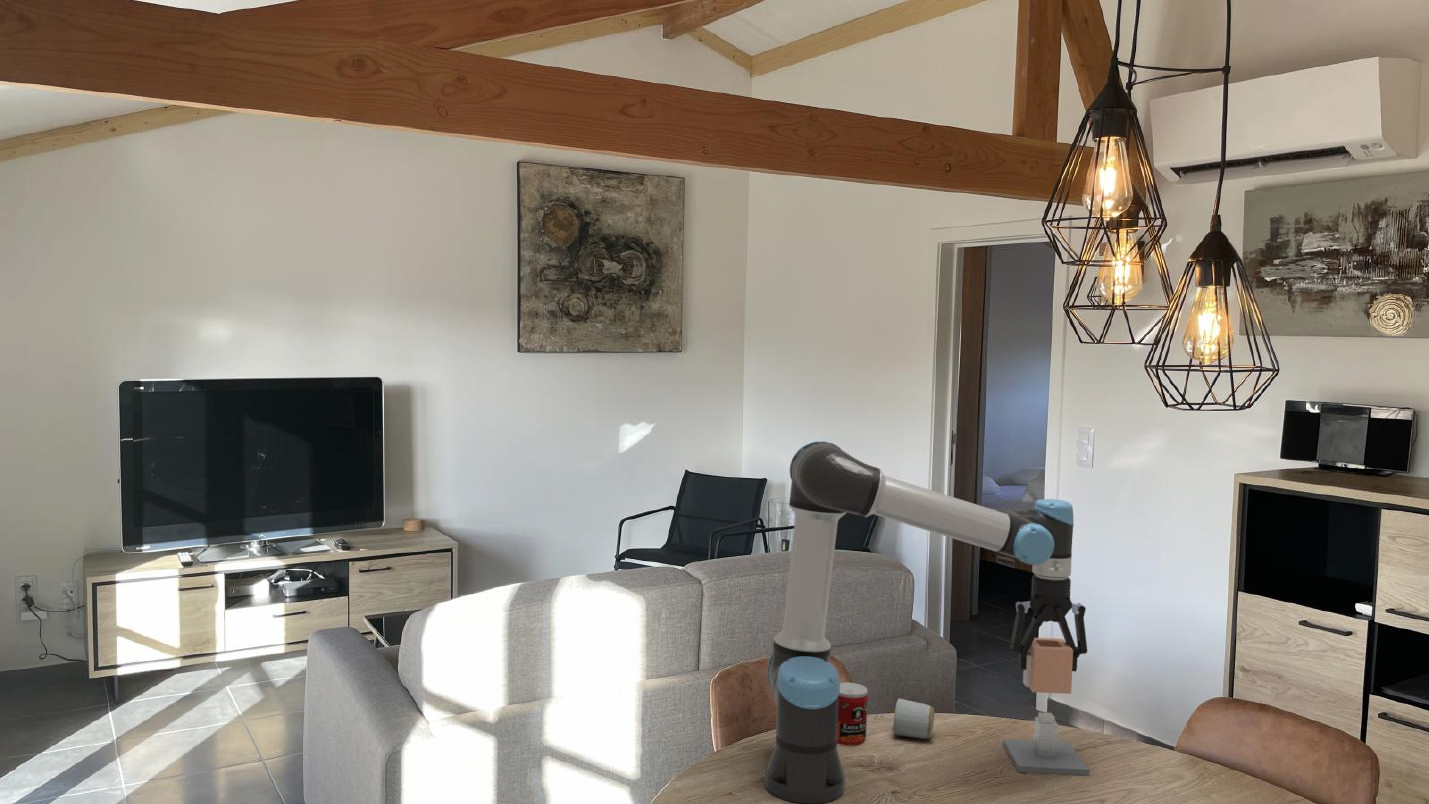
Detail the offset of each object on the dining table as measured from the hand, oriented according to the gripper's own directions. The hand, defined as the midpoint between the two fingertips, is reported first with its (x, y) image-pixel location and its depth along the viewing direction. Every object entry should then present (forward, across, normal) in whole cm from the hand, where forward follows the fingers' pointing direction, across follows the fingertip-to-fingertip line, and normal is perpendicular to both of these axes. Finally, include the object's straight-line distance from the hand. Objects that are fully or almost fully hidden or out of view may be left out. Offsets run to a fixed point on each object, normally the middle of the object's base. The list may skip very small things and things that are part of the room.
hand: (1047, 685), depth 212 cm
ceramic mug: (+16, -26, +11) cm, 32 cm away
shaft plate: (+16, 0, 0) cm, 16 cm away
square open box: (0, 0, 0) cm, 0 cm away
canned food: (+16, -40, +6) cm, 43 cm away
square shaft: (+15, 0, 0) cm, 15 cm away
